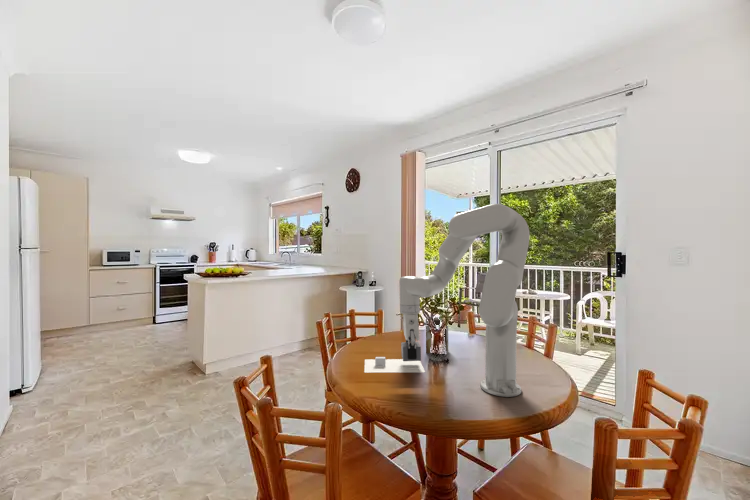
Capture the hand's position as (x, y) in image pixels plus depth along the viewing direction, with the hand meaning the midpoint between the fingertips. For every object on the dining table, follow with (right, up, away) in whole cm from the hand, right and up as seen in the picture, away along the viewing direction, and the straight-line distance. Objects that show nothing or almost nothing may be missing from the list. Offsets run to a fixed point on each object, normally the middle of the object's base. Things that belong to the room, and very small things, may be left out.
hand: (410, 355), depth 127 cm
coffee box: (+13, -6, +17) cm, 22 cm away
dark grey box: (0, -1, 0) cm, 1 cm away
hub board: (-7, -5, 0) cm, 9 cm away
